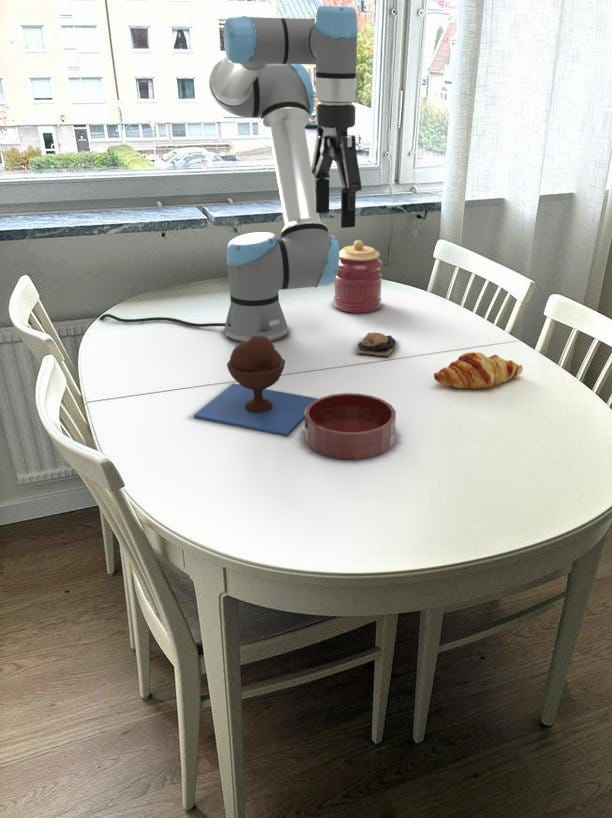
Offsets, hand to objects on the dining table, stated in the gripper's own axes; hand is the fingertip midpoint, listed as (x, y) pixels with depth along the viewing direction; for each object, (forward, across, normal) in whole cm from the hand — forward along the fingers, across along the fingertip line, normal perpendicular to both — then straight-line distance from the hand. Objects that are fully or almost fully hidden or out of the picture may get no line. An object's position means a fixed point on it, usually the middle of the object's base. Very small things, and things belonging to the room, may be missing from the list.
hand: (334, 219), depth 149 cm
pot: (+31, -34, +11) cm, 48 cm away
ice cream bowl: (+31, -17, +23) cm, 42 cm away
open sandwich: (+32, +4, -13) cm, 34 cm away
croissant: (+31, -22, -25) cm, 46 cm away
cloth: (+31, -17, +23) cm, 42 cm away
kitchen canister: (+32, +34, -21) cm, 51 cm away
